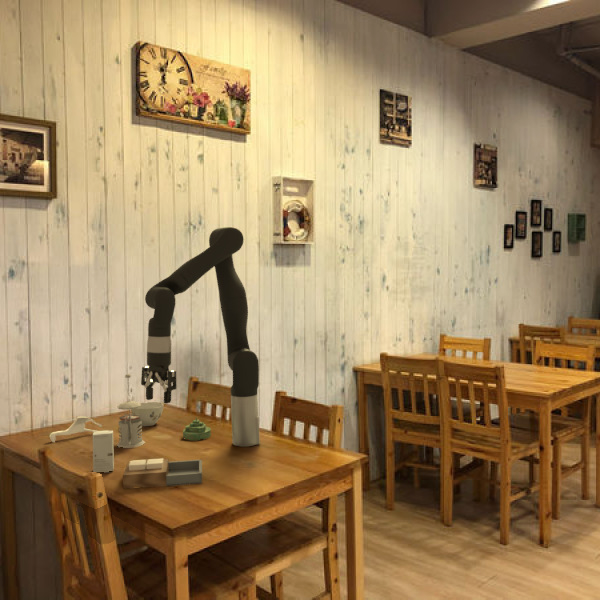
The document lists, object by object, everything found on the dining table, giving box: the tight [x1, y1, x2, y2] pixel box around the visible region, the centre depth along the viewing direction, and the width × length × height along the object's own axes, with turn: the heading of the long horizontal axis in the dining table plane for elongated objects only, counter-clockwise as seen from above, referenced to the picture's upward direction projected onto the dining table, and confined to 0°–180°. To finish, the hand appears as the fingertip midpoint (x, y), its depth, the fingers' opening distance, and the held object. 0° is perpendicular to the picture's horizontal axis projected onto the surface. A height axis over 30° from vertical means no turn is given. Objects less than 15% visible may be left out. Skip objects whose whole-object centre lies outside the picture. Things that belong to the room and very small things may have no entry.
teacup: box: [130, 401, 164, 427], centre depth 252 cm, size 15×12×8 cm
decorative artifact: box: [182, 417, 212, 441], centre depth 233 cm, size 10×7×10 cm
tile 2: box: [146, 457, 164, 469], centre depth 187 cm, size 4×4×2 cm
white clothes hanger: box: [49, 416, 103, 443], centre depth 236 cm, size 2×11×18 cm
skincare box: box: [91, 429, 115, 473], centre depth 197 cm, size 6×4×12 cm
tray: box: [166, 459, 203, 487], centre depth 189 cm, size 10×13×3 cm
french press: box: [116, 373, 146, 449], centre depth 224 cm, size 10×12×25 cm
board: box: [122, 458, 170, 489], centre depth 187 cm, size 12×12×4 cm
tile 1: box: [129, 459, 147, 471], centre depth 187 cm, size 4×4×2 cm
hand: (158, 401), depth 202 cm, fingers open, 8 cm apart
